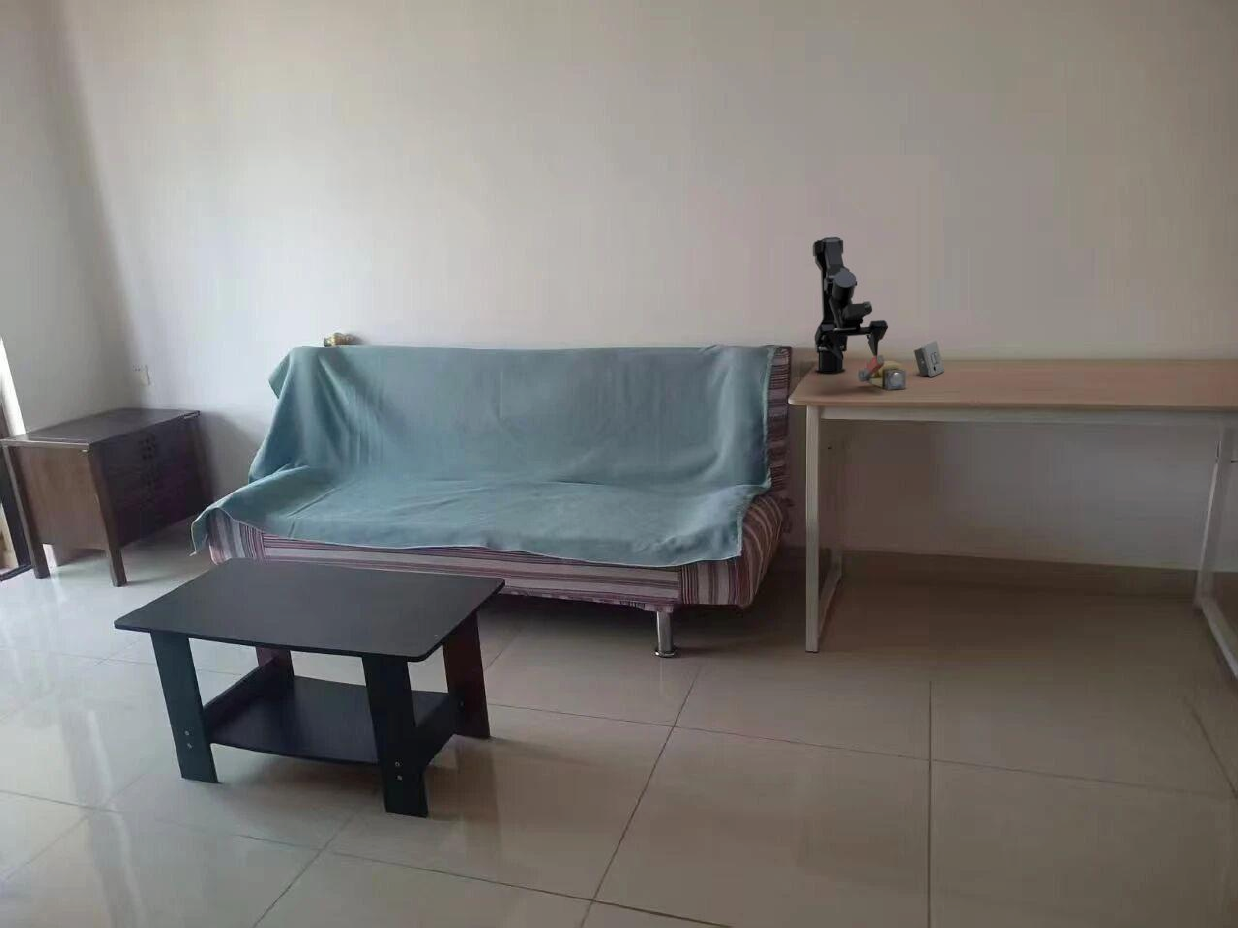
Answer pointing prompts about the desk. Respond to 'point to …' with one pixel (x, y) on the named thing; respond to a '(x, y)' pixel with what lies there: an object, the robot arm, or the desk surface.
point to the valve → (889, 376)
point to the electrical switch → (929, 359)
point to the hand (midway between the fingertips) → (859, 357)
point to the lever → (871, 368)
